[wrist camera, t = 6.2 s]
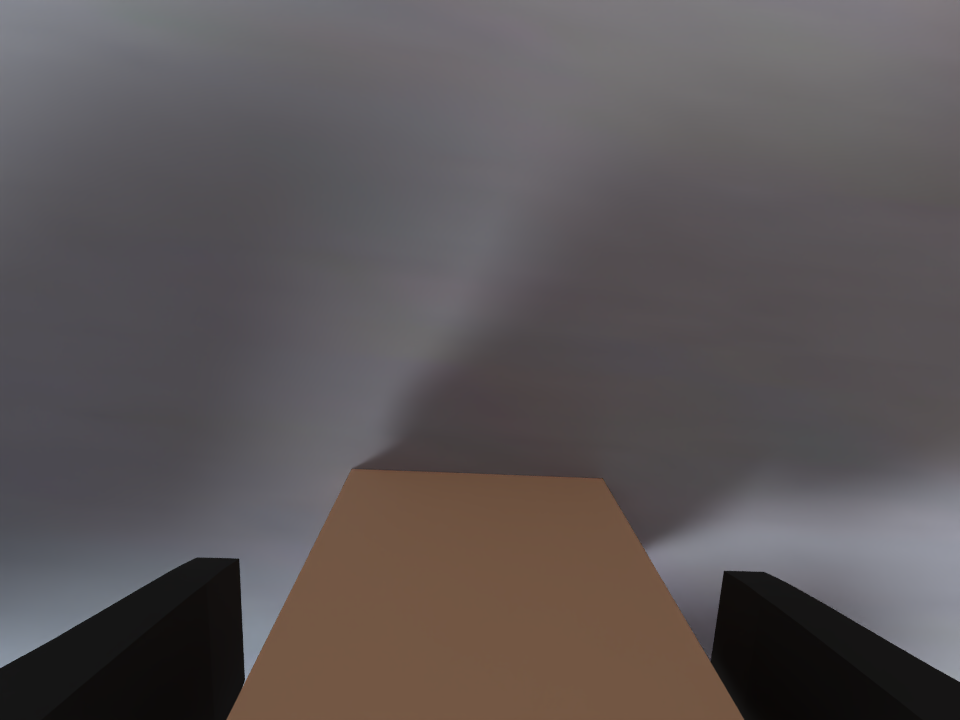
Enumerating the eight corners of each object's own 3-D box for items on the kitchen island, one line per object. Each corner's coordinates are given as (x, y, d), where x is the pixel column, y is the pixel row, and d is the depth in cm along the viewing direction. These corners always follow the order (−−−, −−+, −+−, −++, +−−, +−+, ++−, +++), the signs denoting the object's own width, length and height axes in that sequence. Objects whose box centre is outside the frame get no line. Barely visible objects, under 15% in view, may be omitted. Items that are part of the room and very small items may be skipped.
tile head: (350, 560, 12) (184, 1026, 5) (351, 469, 11) (170, 831, 4) (593, 568, 12) (776, 1028, 5) (602, 478, 11) (815, 840, 4)
